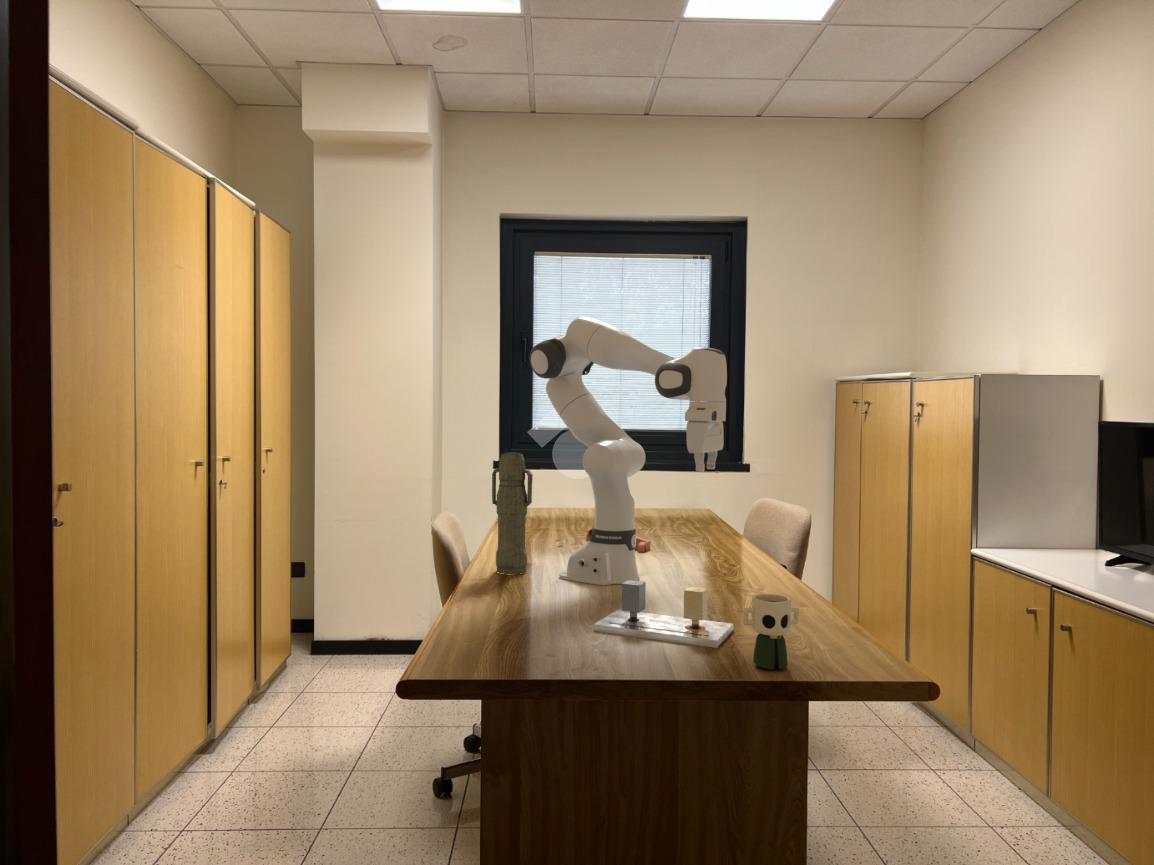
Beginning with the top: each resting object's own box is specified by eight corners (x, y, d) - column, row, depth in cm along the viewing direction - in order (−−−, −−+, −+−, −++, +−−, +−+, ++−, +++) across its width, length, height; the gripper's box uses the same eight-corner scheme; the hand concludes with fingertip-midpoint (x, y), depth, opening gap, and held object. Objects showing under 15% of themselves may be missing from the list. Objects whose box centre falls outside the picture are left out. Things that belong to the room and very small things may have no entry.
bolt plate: (593, 631, 171) (594, 586, 171) (617, 616, 184) (618, 573, 183) (716, 647, 160) (717, 599, 160) (733, 630, 173) (733, 585, 172)
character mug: (748, 674, 144) (749, 603, 144) (735, 661, 151) (736, 594, 151) (805, 672, 146) (807, 601, 145) (790, 659, 153) (791, 592, 152)
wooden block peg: (683, 627, 168) (684, 590, 168) (688, 623, 171) (689, 586, 171) (701, 630, 166) (702, 592, 166) (707, 625, 170) (707, 588, 170)
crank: (586, 551, 268) (586, 527, 268) (596, 547, 276) (596, 524, 275) (641, 556, 260) (641, 532, 259) (650, 552, 267) (650, 529, 267)
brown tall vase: (528, 577, 224) (529, 454, 223) (488, 576, 226) (488, 453, 225) (534, 571, 233) (535, 452, 232) (495, 569, 235) (496, 451, 234)
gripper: (706, 413, 204) (704, 466, 204) (682, 413, 185) (680, 472, 186) (730, 413, 201) (728, 468, 202) (708, 414, 183) (706, 474, 183)
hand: (705, 470), depth 194 cm, fingers open, 8 cm apart
